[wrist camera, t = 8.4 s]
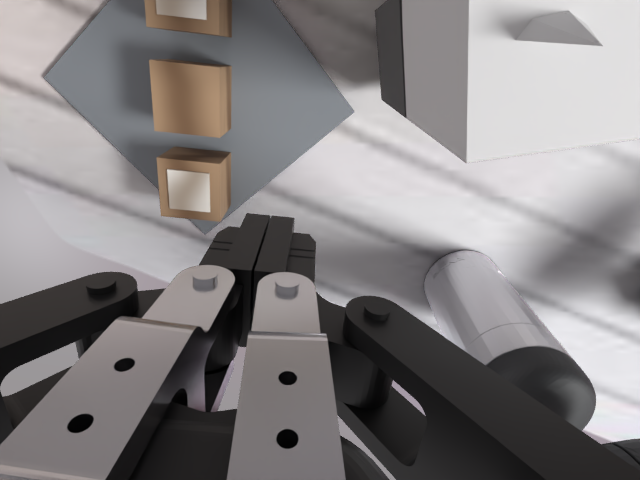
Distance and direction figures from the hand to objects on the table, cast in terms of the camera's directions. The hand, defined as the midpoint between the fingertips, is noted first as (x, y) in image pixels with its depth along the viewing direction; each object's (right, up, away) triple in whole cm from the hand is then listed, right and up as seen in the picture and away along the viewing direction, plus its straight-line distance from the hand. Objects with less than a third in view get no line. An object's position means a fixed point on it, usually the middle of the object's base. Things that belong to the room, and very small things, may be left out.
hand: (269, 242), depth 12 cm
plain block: (-10, +15, +27) cm, 32 cm away
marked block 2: (-11, +7, +30) cm, 33 cm away
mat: (-10, +15, +27) cm, 33 cm away
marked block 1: (-9, +22, +23) cm, 33 cm away
